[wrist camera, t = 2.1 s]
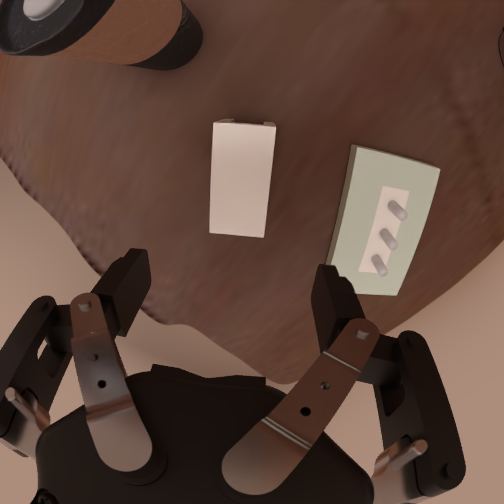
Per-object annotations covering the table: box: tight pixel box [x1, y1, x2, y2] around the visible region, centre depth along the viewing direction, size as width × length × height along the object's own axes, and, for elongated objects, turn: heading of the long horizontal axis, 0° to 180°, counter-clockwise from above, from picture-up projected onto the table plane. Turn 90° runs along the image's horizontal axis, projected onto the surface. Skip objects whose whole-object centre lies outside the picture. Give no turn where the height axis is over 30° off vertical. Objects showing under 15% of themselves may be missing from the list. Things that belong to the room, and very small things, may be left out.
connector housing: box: [210, 119, 276, 238], centre depth 25 cm, size 10×5×6 cm, turn 175°
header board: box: [326, 144, 440, 295], centre depth 29 cm, size 18×11×5 cm, turn 175°
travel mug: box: [0, 0, 203, 70], centre depth 12 cm, size 8×8×20 cm
